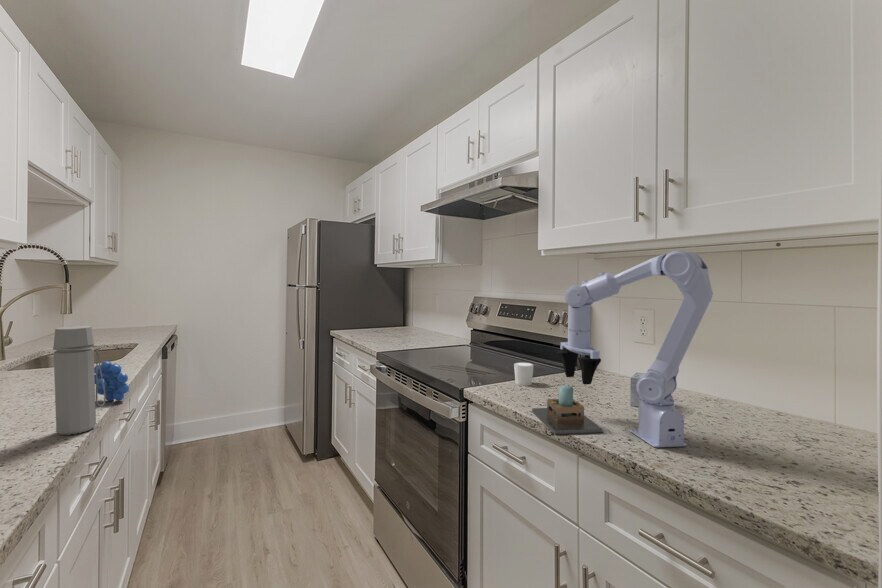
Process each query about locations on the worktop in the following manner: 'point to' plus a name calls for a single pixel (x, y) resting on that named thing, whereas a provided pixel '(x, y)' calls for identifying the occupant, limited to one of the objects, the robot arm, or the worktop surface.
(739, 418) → the worktop surface
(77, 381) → the water bottle
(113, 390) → the grapes
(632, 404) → the medicine box
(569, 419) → the wooden crate on slab
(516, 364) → the white cup
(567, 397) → the teal cylinder
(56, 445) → the worktop surface
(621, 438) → the worktop surface
